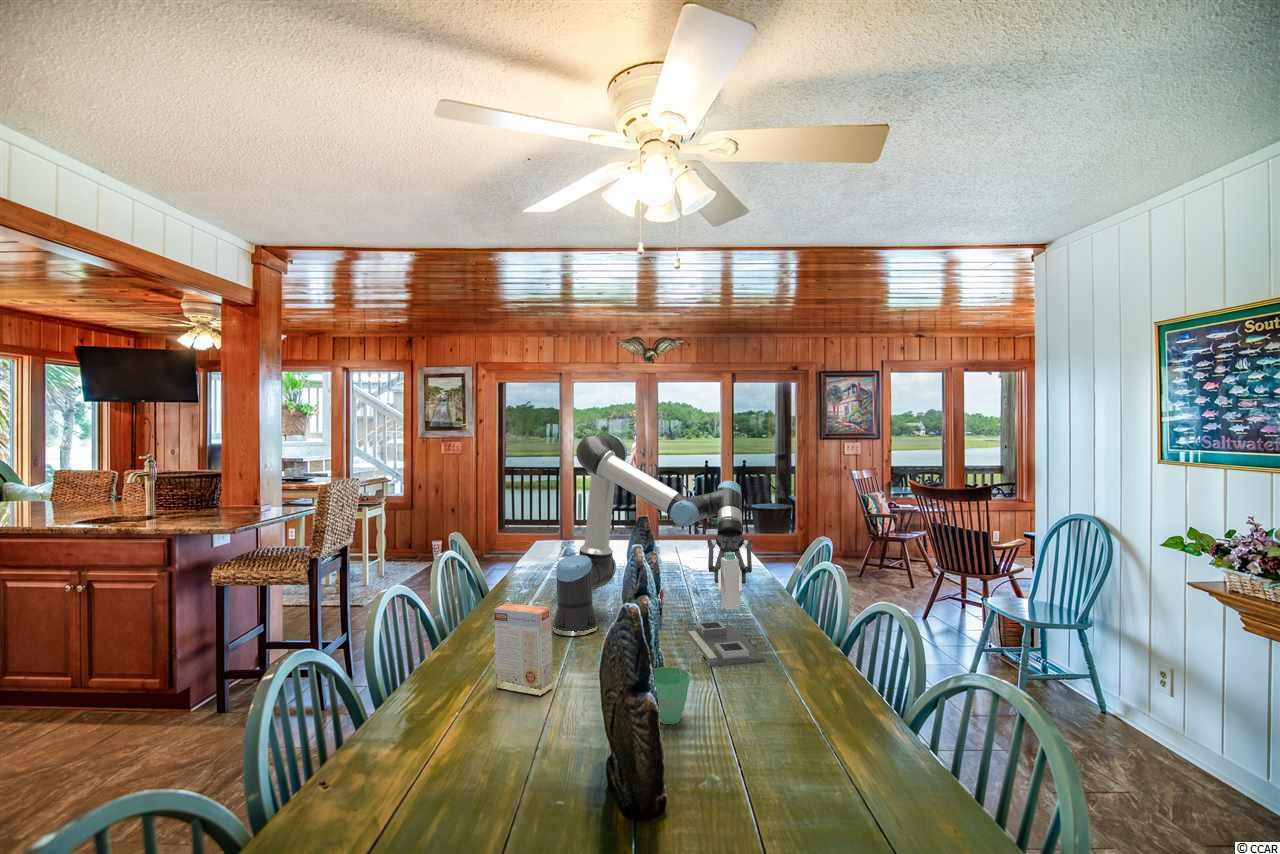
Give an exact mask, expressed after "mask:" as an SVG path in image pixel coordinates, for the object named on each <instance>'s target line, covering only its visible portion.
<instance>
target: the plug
mask: <svg viewBox="0 0 1280 854" xmlns="http://www.w3.org/2000/svg"><path fill="white" fill-rule="evenodd" d="M720 570H721V607H722V608H723V609H724V610H725V611H731V610H732V611H734V610H740V609H741V603H740V602H741V601H740V600H741V598H740V597H741V595H739V570H740V567H739V560H738V559H737V558H736V556H735V553H734V552H726V553H724V558H721V568H720Z"/></svg>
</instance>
